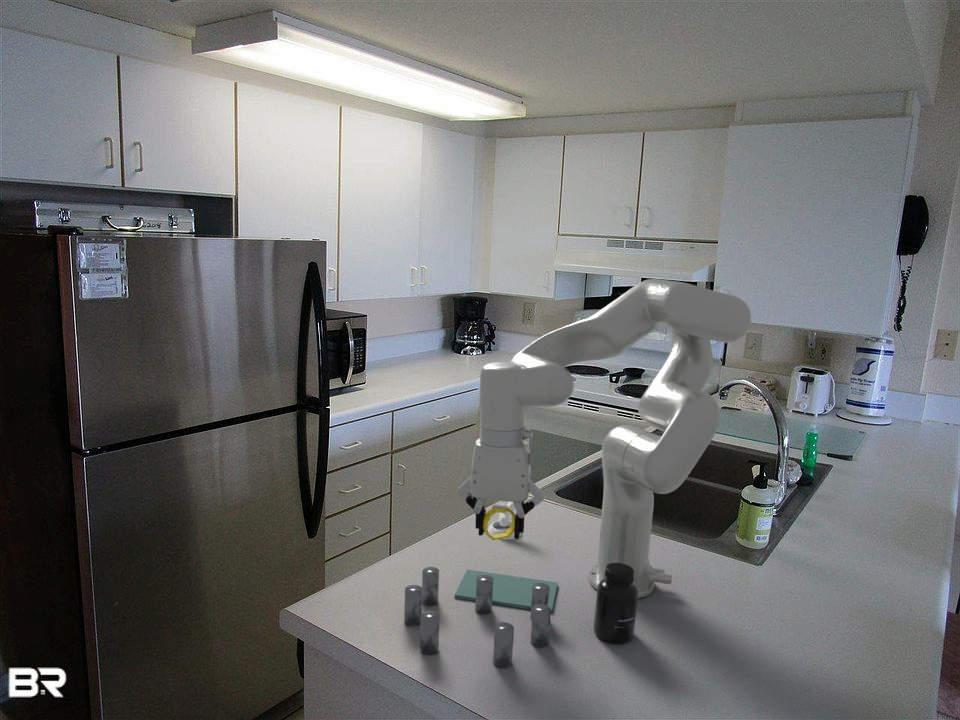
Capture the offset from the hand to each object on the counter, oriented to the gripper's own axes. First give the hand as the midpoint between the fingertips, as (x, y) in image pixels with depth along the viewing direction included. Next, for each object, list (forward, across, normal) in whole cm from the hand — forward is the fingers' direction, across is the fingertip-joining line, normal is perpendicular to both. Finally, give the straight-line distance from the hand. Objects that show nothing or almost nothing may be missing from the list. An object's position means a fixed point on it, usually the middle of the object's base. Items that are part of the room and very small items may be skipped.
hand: (499, 533), depth 119 cm
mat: (+15, -1, -7) cm, 16 cm away
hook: (+16, +4, -32) cm, 36 cm away
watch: (+1, 0, 0) cm, 1 cm away
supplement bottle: (+16, -20, +2) cm, 26 cm away
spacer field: (+15, +3, +8) cm, 17 cm away
